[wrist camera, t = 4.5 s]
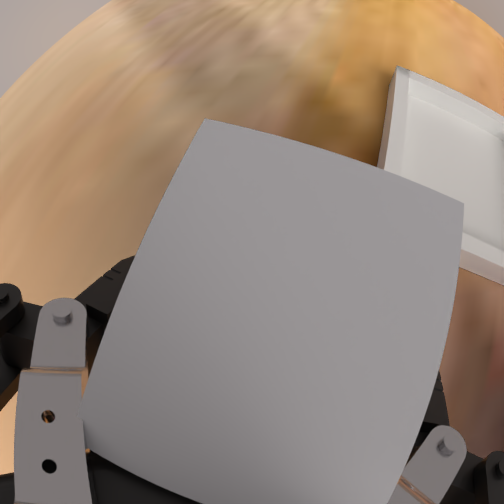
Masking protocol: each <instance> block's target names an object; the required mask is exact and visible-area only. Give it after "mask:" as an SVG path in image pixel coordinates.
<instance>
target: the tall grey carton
mask: <svg viewBox="0 0 504 504" xmlns="http://www.w3.org/2000/svg"><path fill="white" fill-rule="evenodd" d="M463 217H464V203H462V202H460V201H458V200H455V199H453V198H451V197H449V196H447V195H444V194H442V193H440V192H437V191H435V190H433V189H430V188H428V187H426V186H423V185H421V184H418V183H416V182H414V181H411V180H409V179H406V178H404V177H401V176H398V175H396V174H393V173H391V172H388V171H385V170H383V169H380V168H377V167H374V166H372V165H369V164H366V163H363V162H360V161H358V160H355V159H352V158H349V157H346V156H343V155H340V154H337V153H334V152H331V151H327V150H324V149H321V148H318V147H315V146H311V145H308V144H305V143H301V142H298V141H294V140H291V139H287V138H284V137H280V136H277V135H273V134H269V133H265V132H261V131H257V130H254V129H249V128H245V127H241V126H237V125H233V124H228V123H224V122H220V121H215V120H210V119H206V118H205V119H204V121H203V123H202V124H201V126H200V128H199V130H198V131H197V133H196V135H195V137H194V139H193V140H192V142H191V144H190V146H189V148H188V149H187V151H186V153H185V155H184V157H183V159H182V161H181V162H180V164H179V166H178V168H177V170H176V172H175V174H174V176H173V178H172V180H171V182H170V184H169V186H168V188H167V190H166V192H165V194H164V196H163V198H162V200H161V202H160V204H159V206H158V208H157V210H156V212H155V214H154V216H153V218H152V220H151V222H150V225H149V227H148V229H147V231H146V233H145V235H144V237H143V240H142V242H141V244H140V246H139V249H138V251H137V253H136V255H135V258H134V260H133V262H132V265H131V267H130V269H129V272H128V274H127V276H126V279H125V281H124V284H123V286H122V288H121V291H120V293H119V296H118V298H117V301H116V303H115V306H114V308H113V311H112V314H111V316H110V319H109V321H108V324H107V327H106V329H105V332H104V335H103V338H102V340H101V343H100V346H99V349H98V352H97V355H96V358H95V360H94V363H93V366H92V369H91V372H90V375H89V379H88V382H87V385H86V388H85V391H84V394H83V398H82V401H81V404H80V408H79V411H78V415H77V417H79V418H81V419H82V420H83V425H84V431H85V436H86V441H87V447H88V449H90V450H92V451H93V452H95V453H97V454H98V455H100V456H102V457H103V458H105V459H107V460H109V461H111V462H112V463H114V464H116V465H118V466H120V467H122V468H123V469H125V470H127V471H129V472H131V473H133V474H135V475H137V476H139V477H141V478H143V479H145V480H147V481H150V482H152V483H154V484H156V485H158V486H160V487H163V488H165V489H167V490H170V491H172V492H174V493H177V494H179V495H182V496H184V497H187V498H189V499H192V500H194V501H197V502H200V503H203V504H387V503H388V501H389V499H390V497H391V495H392V493H393V491H394V489H395V487H396V485H397V483H398V480H399V478H400V476H401V474H402V472H403V469H404V467H405V465H406V463H407V460H408V458H409V455H410V453H411V451H412V448H413V446H414V443H415V441H416V438H417V435H418V433H419V430H420V427H421V425H422V422H423V419H424V416H425V413H426V410H427V407H428V404H429V401H430V398H431V395H432V392H433V388H434V385H435V382H436V378H437V374H438V371H439V367H440V363H441V360H442V356H443V352H444V347H445V343H446V339H447V334H448V330H449V325H450V320H451V315H452V309H453V304H454V298H455V292H456V285H457V278H458V271H459V263H460V254H461V244H462V232H463Z"/></svg>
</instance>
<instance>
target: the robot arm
mask: <svg viewBox="0 0 504 504" xmlns="http://www.w3.org/2000/svg"><path fill="white" fill-rule="evenodd" d="M134 258H135V256H132V257H129V258H126V259H124V260H121V261H120V262H118V263H117V264H116V265H115V266H114V267H112V268H111V270H109V271H107V272H106V273H105V274H104V275H103V277H102V276H101V277H100V278H99V279H98V280H96V281H95V282H94V283H93V284H92V285H90V286H89V287H88V288H87V289H86V290H85V291H83V292H82V293H81V294H80V295H79V296H78V297H76V298H75V299H70V298H58V299H54V300H52V301H50V302H48V303H46V304H45V305H44V306H39V305H35V304H31V303H27V302H23V300H22V296H21V292H20V290H19V288H18V287H16V286H15V285H12V284H8V283H3V284H0V411H1V410H2V409H3V407H4V406H5V405H6V404H7V403H8V401H9V400H10V399H11V398H12V397H13V396H14V394H15V393H16V392H17V391H18V397H17V407H16V420H15V439H14V472H13V473H8V474H3V475H0V504H203V503H200V502H197V501H194V500H192V499H189V498H187V497H184V496H182V495H179V494H177V493H174V492H172V491H170V490H167V489H165V488H163V487H160V486H158V485H156V484H154V483H152V482H150V481H147V480H145V479H143V478H141V477H139V476H137V475H135V474H133V473H131V472H129V471H127V470H125V469H123V468H122V467H120V466H118V465H116V464H114V463H112V462H111V461H109V460H107V459H105V458H103V457H102V456H100V455H98V454H97V453H95V452H93V451H92V450H90V449H88V447H87V441H86V436H85V431H84V425H83V420H82V419H81V418H79V417H77V415H78V411H79V408H80V404H81V401H82V398H83V394H84V391H85V388H86V385H87V382H88V379H89V375H90V372H91V369H92V366H93V363H94V360H95V358H96V355H97V352H98V349H99V346H100V343H101V340H102V338H103V335H104V332H105V329H106V327H107V324H108V321H109V319H110V316H111V314H112V311H113V308H114V306H115V303H116V301H117V298H118V296H119V293H120V291H121V288H122V286H123V284H124V281H125V279H126V276H127V274H128V272H129V269H130V267H131V265H132V262H133V260H134ZM442 391H443V386H442V382H441V377H440V372H439V371H438V374H437V378H436V382H435V385H434V388H433V392H432V395H431V398H430V401H429V404H428V407H427V410H426V413H425V416H424V419H423V422H422V425H421V427H420V430H419V433H418V435H417V438H416V441H415V443H414V446H413V448H412V451H411V453H410V455H409V458H408V460H407V463H406V465H405V467H404V469H403V472H402V474H401V476H400V478H399V480H398V483H397V485H396V487H395V489H394V491H393V493H392V495H391V497H390V499H389V501H388V503H387V504H504V453H503V452H501V451H494V452H492V453H491V454H489V455H488V456H487V457H486V458H484V459H482V458H480V457H478V456H476V455H473V454H471V453H469V452H467V449H466V444H465V441H464V439H463V437H462V436H461V435H460V433H459V432H458V431H456V430H455V429H454V428H452V427H450V426H449V419H448V413H447V407H446V402H445V396H444V392H442Z"/></svg>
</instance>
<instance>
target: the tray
mask: <svg viewBox="0 0 504 504" xmlns="http://www.w3.org/2000/svg"><path fill="white" fill-rule="evenodd" d="M377 168H380V169H383V170H385V171H388V172H391V173H393V174H396V175H398V176H401V177H404V178H406V179H409V180H411V181H414V182H416V183H418V184H421V185H423V186H426V187H428V188H430V189H433V190H435V191H437V192H440V193H442V194H444V195H447V196H449V197H451V198H453V199H455V200H458V201H460V202H462V203H464V217H463V232H462V244H461V254H460V263H459V267H460V268H463V269H465V270H468V271H470V272H473V273H475V274H477V275H480V276H482V277H485V278H487V279H489V280H492V281H494V282H497V283H499V284H501V285H504V117H503V116H501V115H500V114H498V113H496V112H494V111H493V110H491V109H489V108H487V107H486V106H484V105H482V104H480V103H478V102H477V101H475V100H473V99H471V98H469V97H467V96H465V95H463V94H461V93H459V92H457V91H455V90H453V89H451V88H449V87H447V86H445V85H442V84H440V83H438V82H436V81H434V80H431V79H429V78H427V77H424V76H422V75H420V74H417V73H415V72H412V71H410V70H407V69H405V68H402V67H400V66H397V67H396V69H395V72H394V74H393V77H392V79H391V82H390V85H389V91H388V99H387V107H386V114H385V121H384V128H383V134H382V140H381V146H380V152H379V158H378V163H377Z"/></svg>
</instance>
